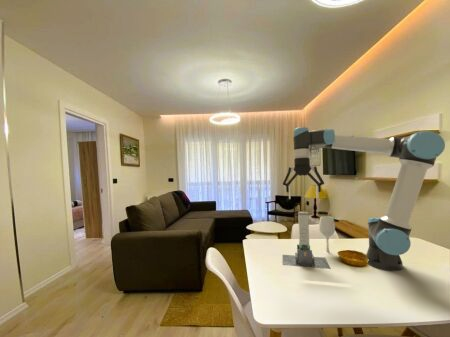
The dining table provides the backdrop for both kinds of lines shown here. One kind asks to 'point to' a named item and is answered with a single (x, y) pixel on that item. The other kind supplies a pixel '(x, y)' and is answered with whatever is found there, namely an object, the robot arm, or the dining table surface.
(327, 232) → the wineglass
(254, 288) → the dining table surface
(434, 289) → the dining table surface
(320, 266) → the stand base
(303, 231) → the column
